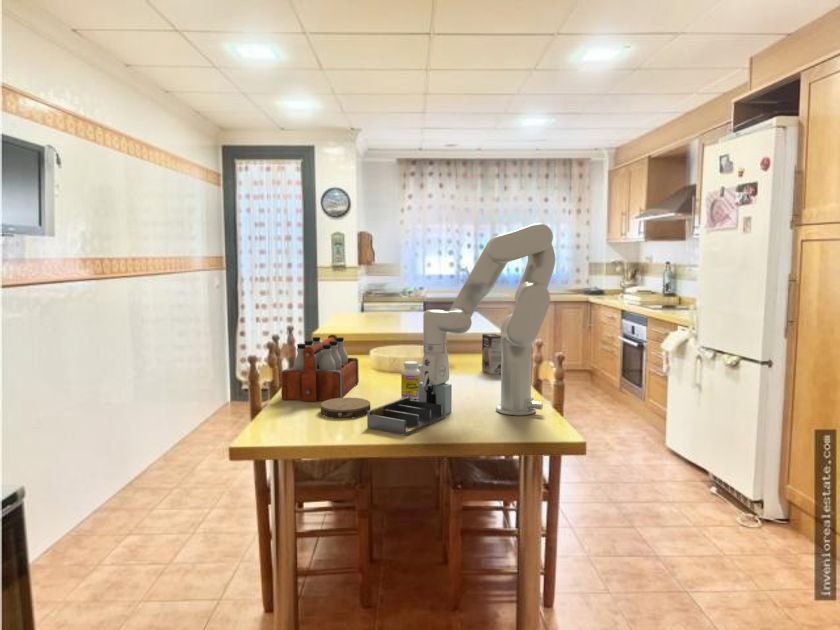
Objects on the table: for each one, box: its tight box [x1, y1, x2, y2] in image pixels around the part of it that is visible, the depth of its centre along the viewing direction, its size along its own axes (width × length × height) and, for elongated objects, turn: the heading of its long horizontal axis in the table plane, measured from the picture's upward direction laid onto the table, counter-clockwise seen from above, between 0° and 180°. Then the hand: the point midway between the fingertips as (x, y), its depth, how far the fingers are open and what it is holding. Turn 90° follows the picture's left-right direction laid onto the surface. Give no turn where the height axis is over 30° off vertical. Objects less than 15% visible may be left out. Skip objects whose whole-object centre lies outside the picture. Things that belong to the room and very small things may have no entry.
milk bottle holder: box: [280, 334, 360, 402], centre depth 215 cm, size 21×35×19 cm, turn 173°
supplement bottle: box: [400, 360, 420, 400], centre depth 204 cm, size 7×7×13 cm
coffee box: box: [481, 333, 502, 375], centre depth 251 cm, size 9×6×16 cm
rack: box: [366, 396, 446, 437], centre depth 174 cm, size 14×21×5 cm, turn 147°
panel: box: [418, 382, 453, 415], centre depth 188 cm, size 10×4×9 cm, turn 57°
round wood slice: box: [320, 397, 371, 419], centre depth 187 cm, size 16×16×3 cm
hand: (434, 403), depth 188 cm, fingers closed on panel, 4 cm apart
